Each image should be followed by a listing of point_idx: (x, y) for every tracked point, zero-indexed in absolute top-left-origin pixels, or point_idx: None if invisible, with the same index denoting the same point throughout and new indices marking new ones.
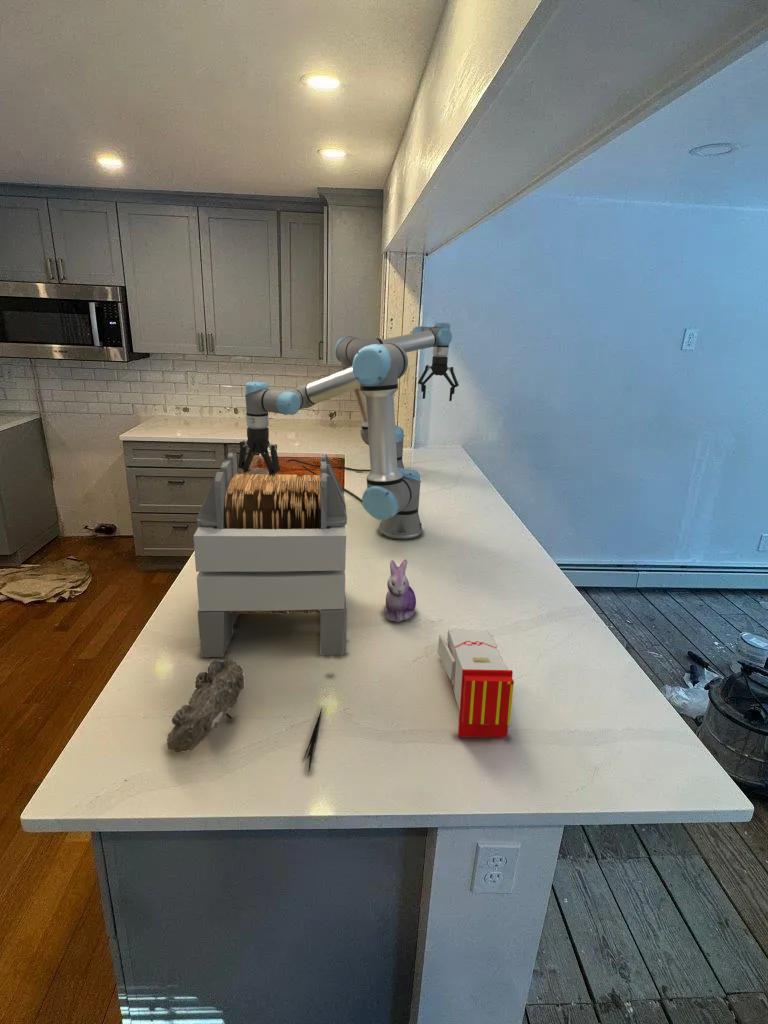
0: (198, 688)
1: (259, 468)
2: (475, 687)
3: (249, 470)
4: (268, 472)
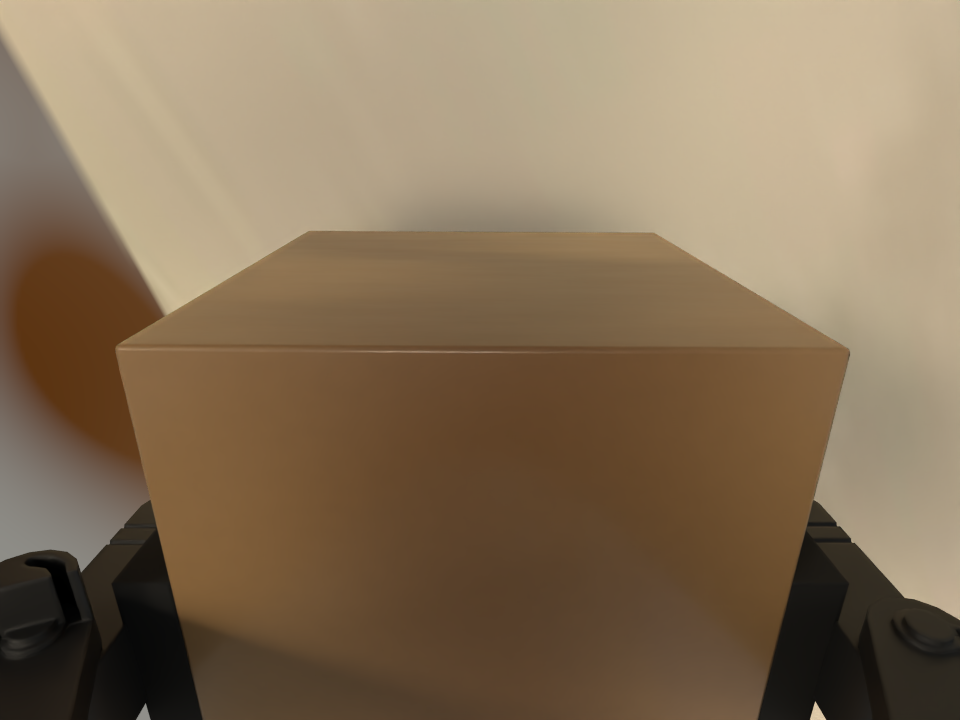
0: None
1: (318, 421)
2: None
3: (205, 671)
4: (741, 637)
